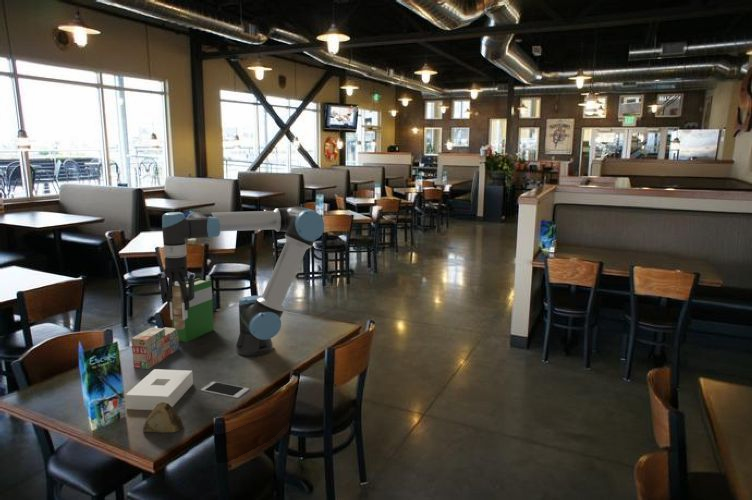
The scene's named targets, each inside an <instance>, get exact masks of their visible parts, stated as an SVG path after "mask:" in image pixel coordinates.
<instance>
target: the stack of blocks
mask: <svg viewBox="0 0 752 500" xmlns="http://www.w3.org/2000/svg"><path fill="white" fill-rule="evenodd" d="M179 343H180V341H179V339H178V329H175V328H172V327H166V326H165V327H163V328H162V327H149V328H148V329H145V330H144V331H142V332H140V333H139V334H137V335H134V336H133V337H131V345H132V346H131V348H132V349H131V351H132V360H133V361H132V364H133V368H135V369H144V370H149V369H151V368H152V367H154V366H155V365H157V364H159V363H160V362H161V361H163V360H164V359H166V358H167V357H169V356H170V355H172V354H174V353H175V352H177V351H178V350H180V349H179V348H180V345H179Z"/></svg>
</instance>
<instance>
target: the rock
mask: <svg viewBox="0 0 752 500" xmlns="http://www.w3.org/2000/svg"><path fill="white" fill-rule="evenodd" d="M184 427H185V424H184V421H183V420H182V418H181V416H179V414H178V413H177V411H176V410H175V408H174V407H171V406H170V405H169V404H168V403H165V402H161V403H159V404H157V405H156V407H155V408H154V409H153V410H151V412H150V413H149V414H148V416H147V418H146V420H145V423H144V425H143V429H142V431H143V432H148V433H149V432H150V433H176V432H178V431H180V430H182V429H183V428H184Z"/></svg>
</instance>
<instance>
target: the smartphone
mask: <svg viewBox="0 0 752 500" xmlns="http://www.w3.org/2000/svg"><path fill="white" fill-rule="evenodd" d="M249 390H250V388H248V387H244V386H238V385H235V384H234V385H233V384H228V383H223V382H219V381H211V382H209V383H208V384H207V385H205V386H203V387H202V388H201V389H200V391H201V392H204V393H210V394H214V395H219V396H220V395H221V396H223V397H224V396H225V397H228V398H234V399H239V398H240V397H242V396H243V395H245V394H246V393H247V392H249Z"/></svg>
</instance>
